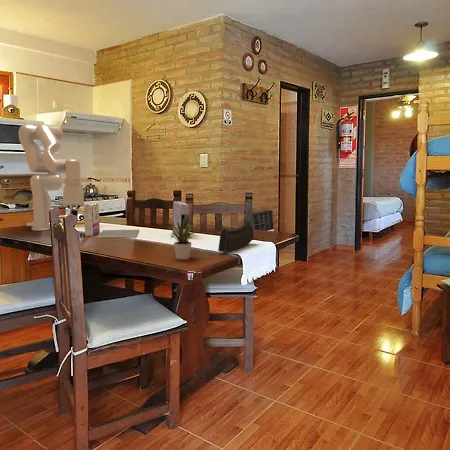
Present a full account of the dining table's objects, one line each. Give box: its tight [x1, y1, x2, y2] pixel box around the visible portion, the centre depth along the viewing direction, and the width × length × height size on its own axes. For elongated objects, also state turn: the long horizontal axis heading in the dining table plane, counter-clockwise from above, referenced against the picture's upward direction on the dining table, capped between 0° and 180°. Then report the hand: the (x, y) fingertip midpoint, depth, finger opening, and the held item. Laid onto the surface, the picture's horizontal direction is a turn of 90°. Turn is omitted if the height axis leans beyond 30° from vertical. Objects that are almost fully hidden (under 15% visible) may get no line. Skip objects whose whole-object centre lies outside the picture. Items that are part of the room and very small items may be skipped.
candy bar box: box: [83, 202, 101, 237], centre depth 238 cm, size 11×5×16 cm, turn 179°
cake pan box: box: [171, 201, 190, 239], centre depth 235 cm, size 19×5×18 cm, turn 20°
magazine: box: [217, 221, 255, 253], centre depth 200 cm, size 17×3×30 cm
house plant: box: [167, 219, 200, 260], centre depth 178 cm, size 14×14×16 cm
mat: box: [96, 229, 140, 239], centre depth 240 cm, size 20×24×1 cm
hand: (74, 217), depth 236 cm, fingers closed
